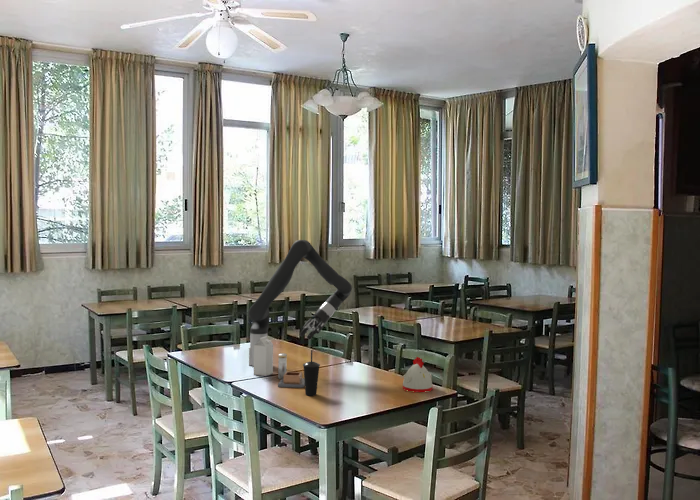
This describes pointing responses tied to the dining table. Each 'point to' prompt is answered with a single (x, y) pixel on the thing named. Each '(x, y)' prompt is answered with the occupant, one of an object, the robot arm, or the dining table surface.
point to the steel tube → (282, 365)
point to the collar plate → (292, 380)
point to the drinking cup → (311, 377)
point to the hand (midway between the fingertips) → (304, 337)
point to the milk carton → (263, 357)
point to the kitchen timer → (417, 378)
